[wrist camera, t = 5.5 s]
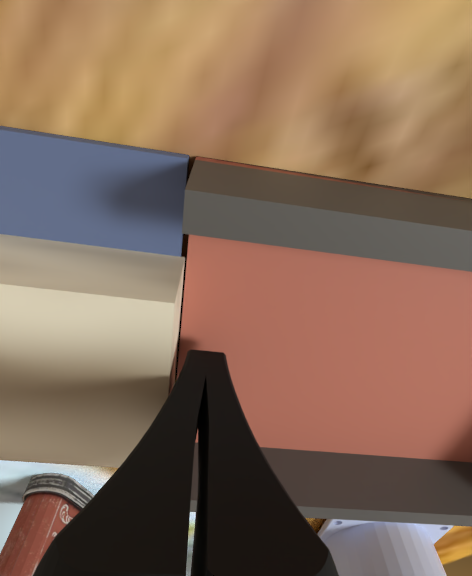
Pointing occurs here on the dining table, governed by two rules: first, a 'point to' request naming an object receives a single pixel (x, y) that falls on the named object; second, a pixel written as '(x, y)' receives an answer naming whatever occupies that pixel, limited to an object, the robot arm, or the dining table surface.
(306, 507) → the grey and pink tray
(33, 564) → the lighter
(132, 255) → the slab
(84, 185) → the indigo mat
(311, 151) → the dining table surface
